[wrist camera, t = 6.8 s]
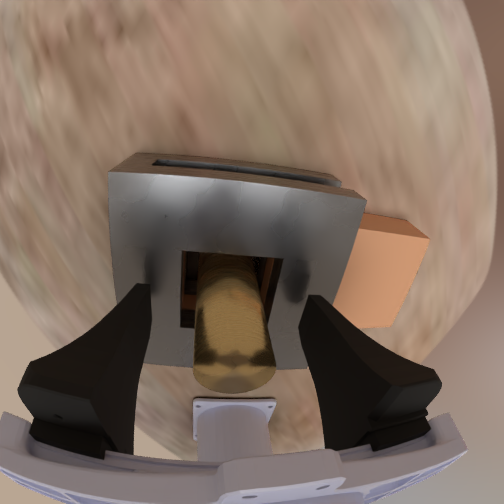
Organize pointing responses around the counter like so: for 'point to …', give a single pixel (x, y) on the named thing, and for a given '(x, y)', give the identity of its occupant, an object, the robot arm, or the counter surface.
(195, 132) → the counter surface
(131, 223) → the bracket
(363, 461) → the robot arm
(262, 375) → the brass pin
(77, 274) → the counter surface
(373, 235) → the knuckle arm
